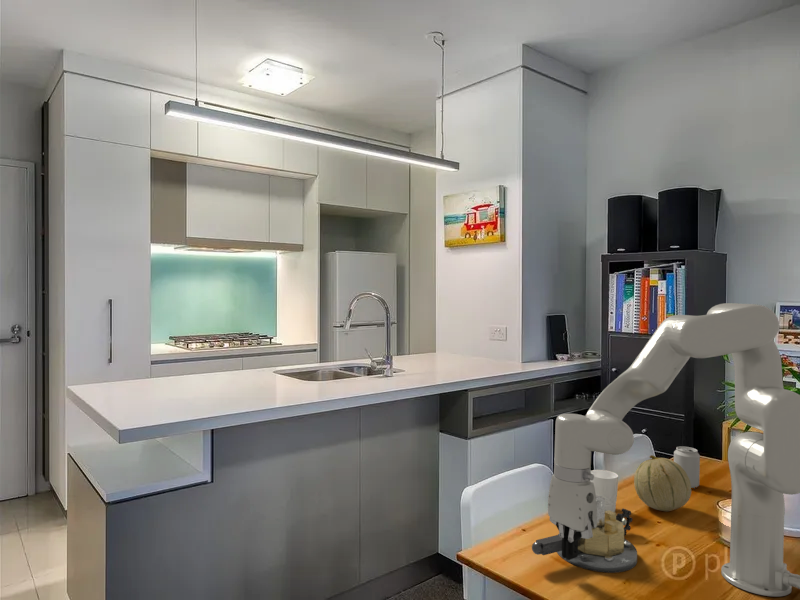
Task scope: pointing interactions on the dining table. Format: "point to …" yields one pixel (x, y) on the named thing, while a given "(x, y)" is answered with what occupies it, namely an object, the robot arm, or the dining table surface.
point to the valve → (621, 518)
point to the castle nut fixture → (590, 540)
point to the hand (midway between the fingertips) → (569, 557)
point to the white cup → (606, 487)
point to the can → (689, 463)
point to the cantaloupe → (662, 484)
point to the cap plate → (605, 562)
